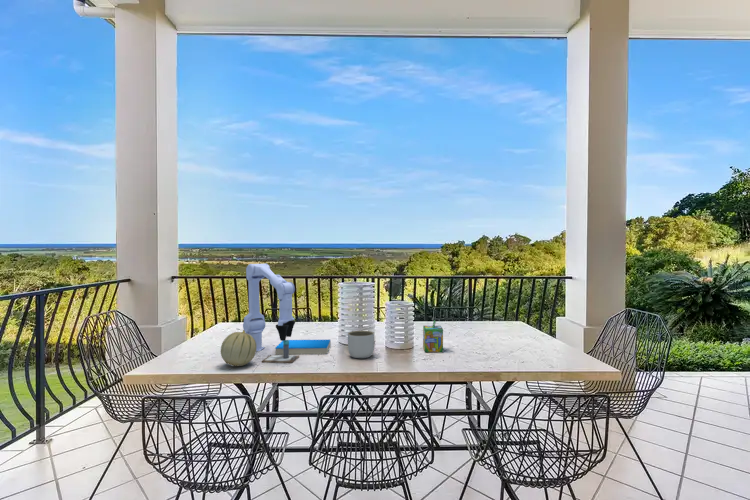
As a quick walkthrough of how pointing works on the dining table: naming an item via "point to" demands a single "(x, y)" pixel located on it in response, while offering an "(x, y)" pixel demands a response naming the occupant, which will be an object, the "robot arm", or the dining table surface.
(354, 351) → the planter
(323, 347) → the book
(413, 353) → the dining table surface
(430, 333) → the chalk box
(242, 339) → the cantaloupe
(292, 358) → the clipboard
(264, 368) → the dining table surface
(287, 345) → the marker
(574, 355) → the dining table surface
